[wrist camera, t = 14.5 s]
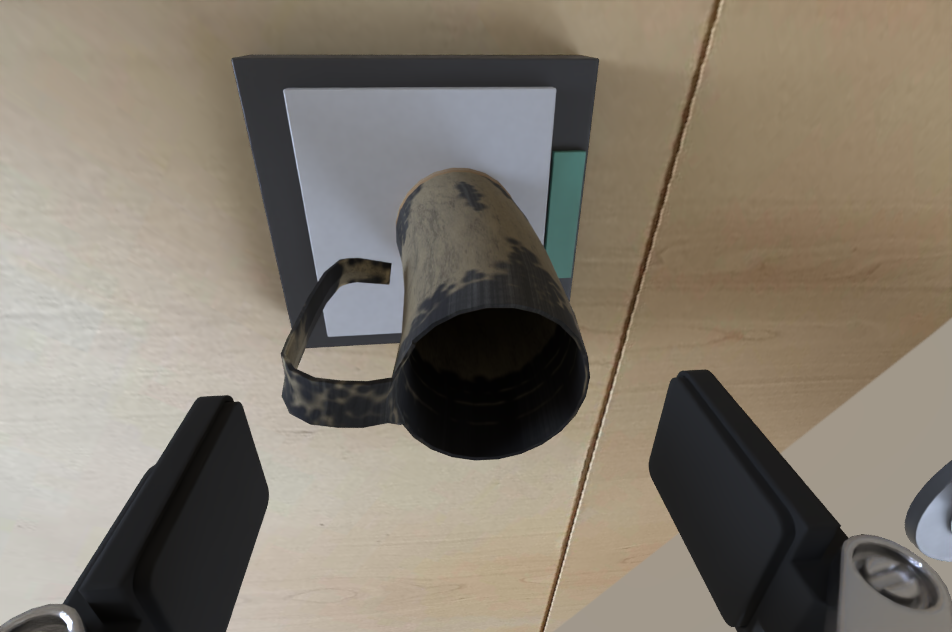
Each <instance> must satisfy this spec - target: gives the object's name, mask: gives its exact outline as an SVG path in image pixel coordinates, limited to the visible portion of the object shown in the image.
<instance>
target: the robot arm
mask: <svg viewBox="0 0 952 632" xmlns="http://www.w3.org/2000/svg"><path fill="white" fill-rule="evenodd" d="M649 472H650V476H651V478H652V480H653V482H654V484H655V486H656V488H657V490H658V492H659V494H660V496H661V498H662V500H663V502H664V504H665V506H666V508H667V510H668V512H669V513H670V515H671V517H672V519H673V521H674V523H675V525H676V527H677V529H678V531H679V533H680V535H681V537H682V539H683V541H684V543H685V545H686V546H687V549H688V551H689V552H690V554H691V557H692V558H693V560H694V562H695V564H696V566H697V568H698V570H699V572H700V574H701V576H702V578H703V580H704V582H705V584H706V586H707V588H708V590H709V592H710V593H711V596H712V598H713V599H714V601H715V603H716V605H717V607H718V609H719V611H720V613H721V615H722V617H723V619H724V620H725V622H726V623H727V624H728V625H729V626H731V627H735V628H736V630H737V632H952V601H951V597H950V594H949V592H948V589H947V586H946V585H945V583H944V582H943V581H942V579H941V578H940V576H939V575H938V574H937V572H936V571H934V570H933V569H932V568H931V567H930V566H929V565H928V564H927V563H926V562H925V561H924V560H923V559H921V558H920V557H918V556H917V555H916V554H914V553H913V552H911V551H910V550H909V549H907V548H905V547H903V546H901V545H899V544H897V543H895V542H893V541H890V540H888V539H885V538H882V537H878V536H872V535H864V534H861V535H856V536H852V537H850V538H848V537H847V536H846V534H845V533H844V532H843V531H842V530H841V529H840V526H841V525H840V524H839V523H838V522H837V520H836V519H835V518H834V517H833V516H832V514H831V513H830V512H829V511H828V510H827V509H826V507H825V506H824V505H823V504H822V503H821V501H820V500H819V499H818V498H817V497H816V496H815V495H814V493H813V492H812V491H811V490H810V489H809V487H808V486H807V485H806V484H805V483H804V481H803V480H802V479H801V478H800V477H799V476H798V474H797V473H796V472H795V471H794V470H793V468H792V467H791V466H790V465H789V464H788V462H787V461H786V460H785V459H784V458H783V457H782V455H781V454H780V453H779V452H778V451H777V449H776V448H775V447H774V446H773V445H772V444H771V442H770V441H769V440H768V439H767V438H766V436H765V435H764V434H763V433H762V432H761V431H760V429H759V428H758V427H757V426H756V425H755V423H754V422H753V421H752V420H751V419H750V418H749V416H748V415H747V414H746V413H745V412H744V410H743V409H742V408H741V407H740V406H739V405H738V403H737V402H736V401H735V400H734V399H733V397H732V396H731V395H730V394H729V393H728V392H727V390H726V389H725V388H724V387H723V386H722V384H721V383H720V382H719V381H718V380H717V379H716V377H715V376H714V375H713V374H712V373H711V372H710V371H709V370H689V371H681V372H679V373H678V375H677V377H676V378H672V379H671V381H670V384H669V388H668V391H667V395H666V399H665V403H664V406H663V410H662V414H661V418H660V422H659V425H658V429H657V433H656V437H655V441H654V444H653V448H652V452H651V456H650V459H649ZM268 500H269V490H268V486H267V483H266V479H265V476H264V473H263V470H262V467H261V463H260V460H259V457H258V454H257V451H256V447H255V444H254V441H253V438H252V435H251V431H250V428H249V425H248V422H247V419H246V415H245V412H244V409H243V406H242V404H241V403H240V402H234V401H233V398H232V397H231V396H228V395H225V396H206V397H199V398H197V400H196V401H195V402H194V404H193V405H192V407H191V409H190V410H189V412H188V413H187V415H186V417H185V418H184V420H183V421H182V423H181V425H180V426H179V428H178V429H177V431H176V433H175V434H174V436H173V438H172V439H171V441H170V442H169V444H168V446H167V447H166V449H165V450H164V452H163V454H162V455H161V457H160V458H159V460H158V462H157V463H156V465H154V466H152V467H151V468H149V470H148V471H147V472H146V473H145V475H144V476H143V478H142V479H141V481H140V482H139V484H138V486H137V487H136V489H135V490H134V492H133V493H132V495H131V497H130V498H129V500H128V501H127V503H126V505H125V506H124V508H123V509H122V511H121V512H120V514H119V516H118V517H117V519H116V520H115V522H114V524H113V525H112V527H111V528H110V530H109V531H108V533H107V535H106V536H105V538H104V539H103V541H102V543H101V544H100V546H99V547H98V549H97V550H96V552H95V554H94V555H93V557H92V558H91V560H90V562H89V563H88V565H87V566H86V568H85V569H84V571H83V573H82V574H81V576H80V577H79V579H78V581H77V582H76V584H75V585H74V587H73V588H72V590H71V592H70V593H69V595H68V596H67V598H66V600H65V601H64V603H63V604H48V605H44V606H41V607H37V608H33V609H30V610H28V611H26V612H24V613H22V614H20V615H18V616H16V617H14V618H12V619H10V620H9V621H7V622H6V623H4V624H3V625H1V626H0V632H226V630H227V627H228V624H229V621H230V618H231V615H232V612H233V609H234V606H235V603H236V600H237V596H238V593H239V590H240V587H241V584H242V581H243V578H244V575H245V572H246V569H247V566H248V563H249V560H250V557H251V554H252V551H253V548H254V545H255V542H256V539H257V536H258V533H259V530H260V527H261V524H262V521H263V518H264V515H265V512H266V509H267V505H268ZM951 531H952V521H951Z"/></svg>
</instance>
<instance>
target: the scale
mask: <svg viewBox="0 0 952 632" xmlns="http://www.w3.org/2000/svg"><path fill="white" fill-rule="evenodd" d="M231 61H232V65H233V70H234V74H235V79H236V83H237V88H238V92H239V96H240V101H241V105H242V110H243V114H244V119H245V123H246V128H247V132H248V136H249V141H250V145H251V150H252V154H253V159H254V163H255V168H256V172H257V176H258V181H259V185H260V190H261V194H262V199H263V203H264V208H265V212H266V216H267V221H268V225H269V230H270V234H271V239H272V243H273V248H274V252H275V256H276V261H277V265H278V270H279V274H280V279H281V283H282V288H283V292H284V296H285V301H286V305H287V310H288V314H289V319H290V323H291V328H293V326H294V324H295V322H296V320H297V318H298V316H299V314H300V312H301V310H302V308H303V306H304V304H305V302H306V300H307V298H308V296H309V295H310V293H311V292H312V290H313V289H314V287H315V286H316V284H317V282H318V281H319V279H320V278H321V276H322V275H323V273H324V272H325V271H326V270H327V269H329V268H330V267H331V266H332V265H333V264H335V263H336V262H337V261H338V260H340V259H346V258H363V259H370V260H376V261H382V262H389V263H392V265H391V275H390V284H389V285H385V284H372V283H359V282H356V283H350V284H346V285H343V286H341V287H340V288H339V289H338V290H337V291H336V293H335V294H334V295H333V296H332V297H331V299H330V300H329V301H328V302H327V303H326V305H325V307H324V309H323V311H322V313H321V315H320V317H319V319H318V321H317V323H316V325H315V327H314V329H313V331H312V333H311V336H310V338H309V340H308V343H307V345H306V348H318V347H335V346H353V345H371V344H389V343H400V340H401V336H402V321H403V304H404V281H403V269H402V261H401V257H400V254H399V250H398V246H397V243H396V218H397V214H398V210H399V206H400V205H401V203H402V201H403V199H404V198H405V196H406V194H407V192H408V191H409V190H410V189H411V188H412V187H413V186H414V185H415V184H416V183H418V182H419V181H420V180H421V179H423V178H425V177H427V176H428V175H430V174H432V173H434V172H437V171H441V170H445V169H449V168H470V169H473V170H476V171H480V172H483V173H486V174H487V175H489V176H490V177H492V178H494V179H495V180H497V181H498V182H500V183H501V185H502V186H503V187H504V188H505V189H506V190H507V191H508V192H509V194H510V195H511V197H512V199H513V201H514V202H515V203H516V205H517V206H518V207H519V208H520V210H521V211H522V212H523V213H524V215H525V216H526V217H527V219H528V221H529V223H530V224H531V226H532V228H533V229H534V231H535V233H536V234H537V236H538V238H539V240H540V241H541V243H542V245H543V246H544V248H545V250H546V252H547V254H548V256H549V258H550V260H551V262H552V265H553V267H554V269H555V271H556V273H557V276H558V278H559V280H560V282H561V285H562V287H563V289H564V291H565V294H566V296H567V298H568V300H569V302H570V294H571V286H572V278H573V270H574V262H575V253H576V245H577V237H578V229H579V221H580V212H581V204H582V196H583V188H584V180H585V171H586V163H587V155H588V147H589V139H590V130H591V122H592V114H593V106H594V98H595V90H596V81H597V73H598V65H599V59H598V58H593V57H587V56H581V55H246V56H240V57H235V58H232V60H231Z"/></svg>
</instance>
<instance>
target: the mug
mask: <svg viewBox="0 0 952 632" xmlns="http://www.w3.org/2000/svg"><path fill="white" fill-rule="evenodd" d="M396 243H397V246H398V250H399V254H400V257H401V261H402V269H403V281H404V304H403V321H402V336H401V340H400V345H399V349H398V353H397V358H396V362H395V366H394V371H393V375H392V378H386V379H379V380H373V381H340V380H332V379H323V378H315V377H313V376H310V375H308V374H306V373H304V372H302V371H299V370H297V368H298V365H299V363H300V360H301V358H302V355H303V353H304V350H305V348H306V345H307V343H308V340H309V338H310V336H311V333H312V331H313V329H314V327H315V325H316V323H317V321H318V319H319V317H320V315H321V313H322V311H323V309H324V307H325V305H326V303H327V302H328V301H329V300H330V299H331V297H332V296H333V295H334V294H335V293H336V291H337V290H338V289H339V288H340V287H341V286H343V285H346V284H350V283H356V282H359V283H372V284H385V285H389V284H390V275H391V265H392V263H389V262H382V261H376V260H370V259H363V258H346V259H340V260H338V261H337V262H336V263H335V264H333V265H332V266H331V267H330V268H329V269H327V270H326V271H325V272H324V273H323V275H322V276H321V278H320V279H319V281H318V282H317V284H316V286H315V287H314V289H313V290H312V292H311V293H310V295H309V296H308V298H307V300H306V302H305V304H304V306H303V308H302V310H301V312H300V314H299V316H298V318H297V320H296V322H295V324H294V326H293V328H292V330H291V332H290V334H289V336H288V338H287V340H286V342H285V345H284V347H283V350H282V352H281V357H282V362H283V368H284V373H285V379H284V385H283V392H282V398H283V400H284V402H285V404H286V406H287V409H288V411H289V413H290V414H292V415H293V416H295V417H297V418H299V419H301V420H303V421H305V422H307V423H309V424H311V425H320V426H328V427H337V428H364V427H369V426H375V425H380V424H385V423H391V424H398V425H402V424H403V425H404V427H405V428H406V429H407V430H408V431H409V433H410V434H411V435H412V436H413V437H414V438H415V439H417V440H418V441H420V442H421V443H423V444H424V445H426V446H427V447H428V448H430V449H432V450H434V451H437V452H440V453H442V454H445V455H448V456H451V457H455V458H462V459H469V460H492V459H501V458H505V457H510V456H514V455H518V454H522V453H524V452H526V451H528V450H531V449H533V448H535V447H538V446H540V445H542V444H544V443H545V442H546V441H548V440H549V439H551V438H552V437H554V436H555V435H556V434H558V433H559V432H561V431H562V430H563V428H564V427H565V426H566V425H567V424H568V423H569V422H570V421H571V420H572V419H573V418H574V417H575V415H576V414H577V412H578V410H579V408H580V406H581V405H582V403H583V401H584V399H585V397H586V393H587V389H588V384H589V379H590V372H589V363H588V356H587V352H586V349H585V346H584V343H583V340H582V336H581V333H580V330H579V327H578V323H577V320H576V317H575V314H574V312H573V309H572V307H571V305H570V303H569V300H568V298H567V296H566V294H565V291H564V289H563V287H562V285H561V282H560V280H559V278H558V276H557V273H556V271H555V269H554V267H553V265H552V262H551V260H550V258H549V256H548V254H547V252H546V250H545V248H544V246H543V245H542V243H541V241H540V240H539V238H538V236H537V234H536V233H535V231H534V229H533V228H532V226H531V224H530V223H529V221H528V219H527V217H526V216H525V215H524V213H523V212H522V211H521V210H520V208H519V207H518V206H517V205H516V203H515V202H514V201H513V199H512V197H511V195H510V194H509V192H508V191H507V190H506V189H505V188H504V187H503V186H502V185H501V183H500V182H498V181H497V180H495V179H494V178H492V177H490V176H489V175H487V174H486V173H483V172H480V171H476V170H473V169H470V168H449V169H445V170H441V171H437V172H434V173H432V174H430V175H428V176H427V177H425V178H423V179H421V180H420V181H419V182H418V183H416V184H415V185H414V186H413V187H412V188H411V189H410V190H409V191H408V192H407V194H406V196H405V198H404V199H403V201H402V203H401V205H400V206H399V210H398V214H397V218H396Z"/></svg>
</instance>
